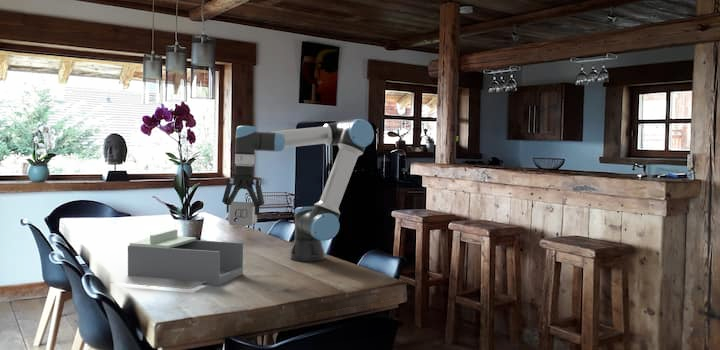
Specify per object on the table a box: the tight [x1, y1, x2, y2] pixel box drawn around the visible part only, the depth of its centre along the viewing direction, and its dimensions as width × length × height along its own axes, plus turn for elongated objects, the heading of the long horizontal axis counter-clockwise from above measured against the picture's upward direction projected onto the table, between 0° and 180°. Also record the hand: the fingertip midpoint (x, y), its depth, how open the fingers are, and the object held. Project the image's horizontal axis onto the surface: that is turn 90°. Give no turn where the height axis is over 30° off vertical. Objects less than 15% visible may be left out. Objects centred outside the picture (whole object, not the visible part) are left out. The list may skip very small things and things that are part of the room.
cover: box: [129, 229, 197, 249], centre depth 223 cm, size 16×20×4 cm
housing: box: [127, 239, 244, 287], centre depth 221 cm, size 37×20×12 cm, turn 76°
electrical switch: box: [228, 201, 255, 227], centre depth 232 cm, size 9×5×9 cm, turn 88°
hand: (242, 222), depth 232 cm, fingers closed on electrical switch, 9 cm apart
